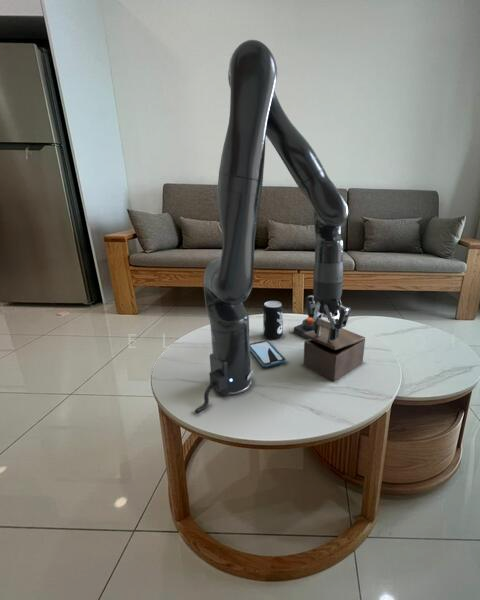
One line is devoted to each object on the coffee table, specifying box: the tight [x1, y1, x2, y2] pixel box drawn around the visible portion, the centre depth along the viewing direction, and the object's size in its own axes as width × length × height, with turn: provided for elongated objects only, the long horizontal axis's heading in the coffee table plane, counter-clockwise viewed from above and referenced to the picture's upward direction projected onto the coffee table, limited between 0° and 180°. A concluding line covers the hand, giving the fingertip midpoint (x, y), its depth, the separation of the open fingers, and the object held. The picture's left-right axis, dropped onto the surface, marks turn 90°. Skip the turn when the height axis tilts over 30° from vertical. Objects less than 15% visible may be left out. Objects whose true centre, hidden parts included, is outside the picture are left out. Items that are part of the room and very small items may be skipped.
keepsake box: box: [303, 339, 366, 382], centre depth 94 cm, size 14×12×8 cm
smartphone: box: [250, 339, 287, 368], centre depth 99 cm, size 7×1×15 cm
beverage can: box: [262, 300, 284, 340], centre depth 109 cm, size 7×7×12 cm
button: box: [306, 316, 314, 325], centre depth 114 cm, size 4×4×2 cm
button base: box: [293, 318, 323, 340], centre depth 114 cm, size 10×8×4 cm
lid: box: [303, 318, 366, 350], centre depth 91 cm, size 14×12×6 cm
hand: (325, 336), depth 89 cm, fingers closed on lid, 5 cm apart
